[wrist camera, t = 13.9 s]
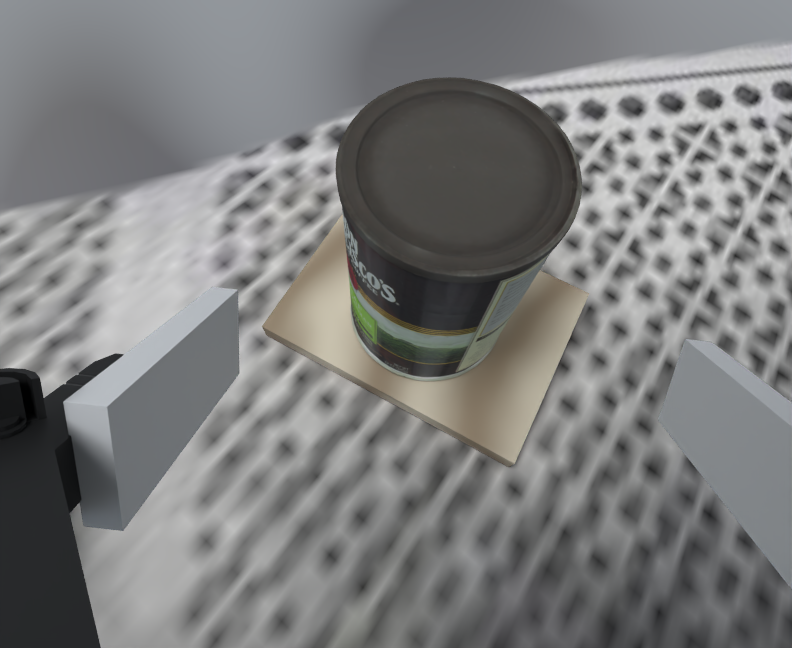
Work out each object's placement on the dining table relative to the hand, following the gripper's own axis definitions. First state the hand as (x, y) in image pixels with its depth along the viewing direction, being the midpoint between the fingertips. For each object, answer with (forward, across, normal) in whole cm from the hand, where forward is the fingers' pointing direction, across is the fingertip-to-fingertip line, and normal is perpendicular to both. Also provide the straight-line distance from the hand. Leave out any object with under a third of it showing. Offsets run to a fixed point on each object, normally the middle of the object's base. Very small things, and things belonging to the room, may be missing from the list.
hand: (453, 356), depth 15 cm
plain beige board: (+19, 0, -6) cm, 20 cm away
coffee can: (+18, 0, -5) cm, 19 cm away
